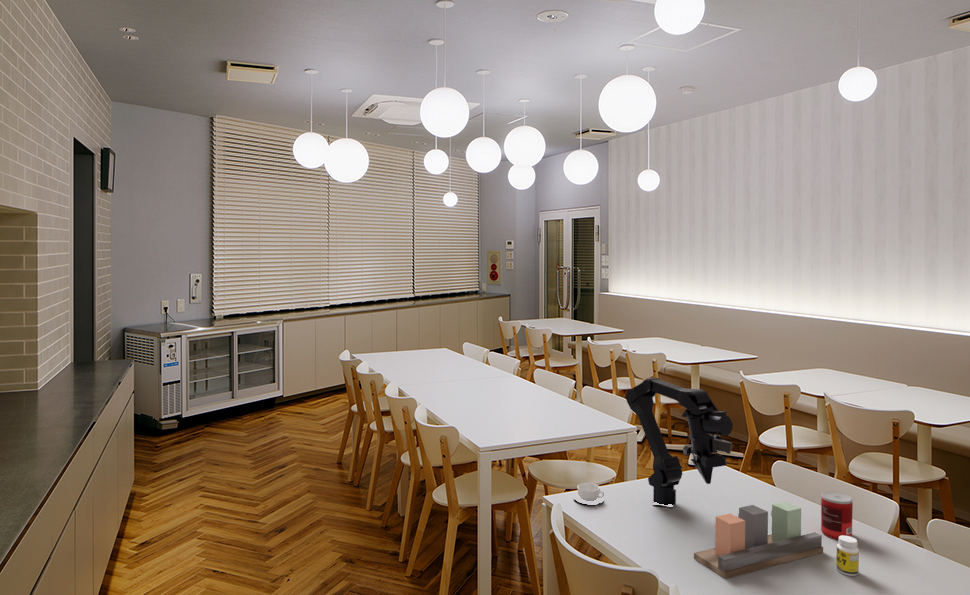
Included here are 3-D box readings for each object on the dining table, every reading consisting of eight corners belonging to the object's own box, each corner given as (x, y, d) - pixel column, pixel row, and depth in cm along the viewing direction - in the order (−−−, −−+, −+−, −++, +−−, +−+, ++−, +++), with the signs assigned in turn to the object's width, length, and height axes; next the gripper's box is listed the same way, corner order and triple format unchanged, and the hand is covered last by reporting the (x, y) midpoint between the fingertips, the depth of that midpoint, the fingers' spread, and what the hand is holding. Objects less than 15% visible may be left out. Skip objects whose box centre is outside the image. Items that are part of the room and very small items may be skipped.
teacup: (570, 504, 190) (570, 490, 190) (577, 493, 199) (577, 480, 199) (600, 508, 186) (600, 494, 186) (606, 497, 195) (606, 483, 195)
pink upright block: (712, 552, 153) (712, 515, 152) (727, 548, 155) (727, 512, 154) (729, 562, 147) (730, 524, 147) (744, 559, 149) (745, 520, 149)
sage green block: (768, 538, 160) (769, 503, 160) (781, 535, 162) (782, 500, 162) (787, 548, 155) (787, 511, 154) (800, 544, 157) (801, 508, 156)
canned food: (847, 530, 169) (848, 492, 168) (855, 542, 161) (856, 503, 161) (818, 526, 171) (818, 490, 171) (824, 538, 164) (824, 500, 163)
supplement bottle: (831, 567, 148) (832, 534, 147) (849, 566, 148) (849, 534, 148) (845, 577, 143) (845, 543, 143) (863, 576, 143) (863, 542, 143)
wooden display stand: (693, 558, 153) (693, 541, 153) (787, 535, 166) (788, 520, 165) (725, 578, 143) (725, 560, 142) (823, 552, 155) (823, 535, 155)
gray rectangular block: (735, 542, 158) (736, 506, 158) (749, 539, 160) (749, 503, 160) (753, 552, 153) (753, 514, 152) (767, 548, 155) (768, 511, 154)
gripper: (740, 433, 167) (749, 488, 166) (713, 422, 185) (721, 471, 185) (702, 439, 166) (711, 494, 166) (678, 428, 185) (686, 477, 184)
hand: (708, 483), depth 175 cm, fingers closed
